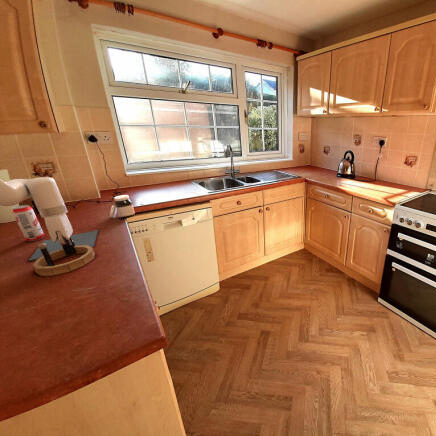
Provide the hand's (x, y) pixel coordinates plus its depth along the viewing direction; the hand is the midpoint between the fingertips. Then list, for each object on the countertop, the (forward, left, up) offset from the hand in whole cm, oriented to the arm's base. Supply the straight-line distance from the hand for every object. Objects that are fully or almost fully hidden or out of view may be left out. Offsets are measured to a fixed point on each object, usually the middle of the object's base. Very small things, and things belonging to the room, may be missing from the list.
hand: (71, 252), depth 98 cm
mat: (-3, +12, -1) cm, 13 cm away
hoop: (0, -8, -1) cm, 8 cm away
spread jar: (+17, +38, -1) cm, 42 cm away
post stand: (-3, -12, -1) cm, 12 cm away
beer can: (-17, +28, -1) cm, 33 cm away
